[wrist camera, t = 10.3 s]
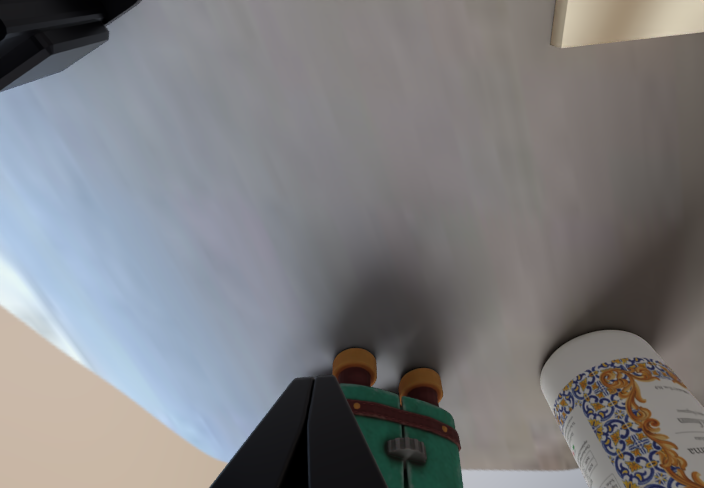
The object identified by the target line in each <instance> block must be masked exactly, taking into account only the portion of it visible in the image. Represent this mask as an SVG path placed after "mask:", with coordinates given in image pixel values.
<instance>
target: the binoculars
mask: <svg viewBox="0 0 704 488" xmlns="http://www.w3.org/2000/svg"><path fill="white" fill-rule="evenodd" d="M333 375H334V376H335V377H336V378H337V380H338V383H339V385H340V387H341V389H342V391H343V393H344V395H345V397H346V399H347V401H348V404H349V406H350V408H351V410H352V412H353V414H354V416H355V418H356V420H357V423H358V425H359V427H360V429H361V431H362V433H363V435H364V437H365V439H366V442H367V444H368V446H369V448H370V450H371V452H372V454H373V456H374V458H375V461H376V463H377V465H378V467H379V469H380V471H381V473H382V475H383V477H384V479H385V482H386V484H387V486H388V488H463V482H462V474H461V466H460V458H459V451H460V449H461V446H460V441H459V436H458V433H457V431H456V430H455V424H454V419H453V417H452V415H451V414H450V413H448V412H447V411H445V410H444V409H442V408H440V407H439V405H438V403H439V402H440V400H441V399H442V397H443V390H442V385H441V380H440V376H439V375H438V373H436V372H435V371H434V370H432V369H428V368H418V369H414V370H412V371H410V372H408V373H407V374H405V375H404V376H403V378H402V379H401V381H400V384H399V388H398V389H399V396H400V401H399V396H398V395H397V394H395V393H392V392H389V391H385V390H382V389H378V388H373V387H371V386H372V385H373V384H374V383H375V381H376V379H377V367H376V360H375V358H374V356H373V355H372V354H371V353H370V352H368V351H367V350H364V349H360V348H351V349H347V350H344V351H342V352H341V353H339V354H338V355H337V356H336V358H335V359H334V362H333Z"/></svg>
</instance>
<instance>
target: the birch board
mask: <svg viewBox="0 0 704 488" xmlns="http://www.w3.org/2000/svg"><path fill="white" fill-rule="evenodd" d="M699 32H704V0H556V5H555V13H554V20H553V28H552V36H551V44H550V45H553V46H556V47H559V48H566V47H575V46H584V45H593V44H602V43H610V42H619V41H628V40H637V39H646V38H655V37H663V36H672V35H681V34H690V33H699Z"/></svg>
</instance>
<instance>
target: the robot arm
mask: <svg viewBox="0 0 704 488" xmlns="http://www.w3.org/2000/svg"><path fill="white" fill-rule="evenodd" d="M141 1H142V0H0V92H2V91H5V90H8V89H11V88H14V87H17V86H20V85H23V84H26V83H29V82H32V81H35V80H37V79H40V78H43V77H46V76H49V75H52V74H55V73H58V72H61V71H63V70H65V69H66V68H68V67H69V66H71V65H72V64H74V63H75V62H77V61H78V60H79V59H81V58H82V57H84V56H85V55H87V54H88V53H90V52H91V51H93V50H94V49H96V48H97V47H99V46H100V45H102V44H103V43H105V42H106V41H108V39H109V31H108V29H107V28H106V26H107V25H109V24H110V23H112V22H113V21H114V20H116V19H117V18H119V17H120V16H122V15H123V14H125V13H126V12H128V11H129V10H130V9H132V8H133V7H135V6H136V5H138V4H139V3H140V2H141ZM210 488H388V486H387V484H386V482H385V479H384V477H383V475H382V473H381V471H380V469H379V467H378V465H377V463H376V461H375V458H374V456H373V454H372V452H371V450H370V448H369V446H368V444H367V442H366V439H365V437H364V435H363V433H362V431H361V429H360V427H359V425H358V423H357V420H356V418H355V416H354V414H353V412H352V410H351V408H350V406H349V404H348V401H347V399H346V397H345V395H344V393H343V391H342V389H341V387H340V385H339V383H338V380H337V378H336V377H335V376H334V375H325V376H317V377H316V378H315V379H314V378H313V377H302V378H295V379H294V380H293V381H292V382H291V383H290V385H289V386H288V387H287V388H286V390H285V391H284V392H283V394H282V395H281V396H280V397H279V399H278V400H277V401H276V403H275V404H274V405H273V406H272V408H271V409H270V410H269V412H268V413H267V414H266V415H265V417H264V418H263V419H262V421H261V422H260V423H259V424H258V426H257V427H256V428H255V430H254V431H253V432H252V433H251V435H250V436H249V437H248V439H247V440H246V441H245V442H244V444H243V445H242V446H241V448H240V449H239V450H238V451H237V453H236V454H235V455H234V456H233V458H232V459H231V460H230V462H229V463H228V464H227V465H226V467H225V468H224V469H223V471H222V472H221V473H220V474H219V476H218V477H217V479H216V480H215V481H214V482H213V484H212V485H211V486H210Z"/></svg>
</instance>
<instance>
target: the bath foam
mask: <svg viewBox="0 0 704 488" xmlns="http://www.w3.org/2000/svg"><path fill="white" fill-rule="evenodd" d="M540 384H541V388H542V391H543V394H544V396H545V398H546V400H547V402H548V404H549V406H550V408H551V410H552V412H553V414H554V416H555V419H556V421H557V423H558V425H559V427H560V429H561V431H562V433H563V435H564V437H565V439H566V441H567V443H568V446H569V448H570V450H571V452H572V454H573V456H574V458H575V460H576V462H577V464H578V466H579V468H580V470H581V472H582V474H583V476H584V478H585V480H586V482H587V484H588V486H589V488H704V407H703V406H702V405H701V404H700V403H699V402H698V400H697V399H696V398H695V397H694V396H693V394H692V393H691V392H690V391H689V390H688V389H687V387H686V386H685V385H684V384H683V383H682V382H681V380H680V379H679V378H678V377H677V376H676V374H675V373H674V372H673V371H672V370H671V369H670V368H669V367H668V366H667V364H666V363H665V362H664V361H663V360H662V358H661V357H660V356H659V355H658V354H657V353H656V351H655V350H654V349H653V348H652V347H651V346H650V345H649V344H648V343H647V342H646V341H645V340H644V339H642V338H641V337H639V336H637V335H635V334H633V333H630V332H626V331H621V330H602V331H595V332H591V333H587V334H584V335H581V336H579V337H576V338H574V339H572V340H570V341H568V342H567V343H565V344H564V345H562V346H561V347H559V348H558V349H557V350H556V351H555V352H554V353H553V354H552V355H551V357H550V358H549V359H548V361H547V362H546V364H545V365H544V367H543V369H542V372H541V377H540Z"/></svg>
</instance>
